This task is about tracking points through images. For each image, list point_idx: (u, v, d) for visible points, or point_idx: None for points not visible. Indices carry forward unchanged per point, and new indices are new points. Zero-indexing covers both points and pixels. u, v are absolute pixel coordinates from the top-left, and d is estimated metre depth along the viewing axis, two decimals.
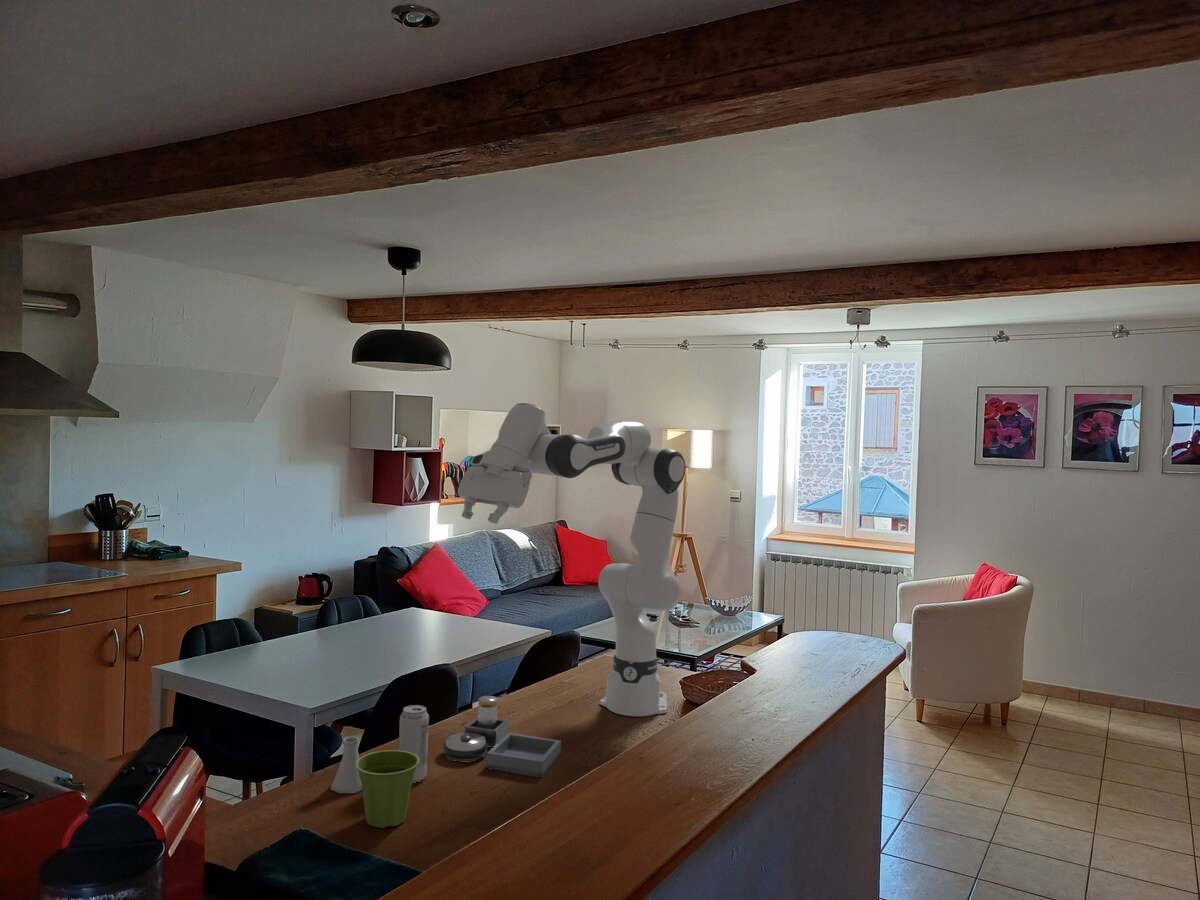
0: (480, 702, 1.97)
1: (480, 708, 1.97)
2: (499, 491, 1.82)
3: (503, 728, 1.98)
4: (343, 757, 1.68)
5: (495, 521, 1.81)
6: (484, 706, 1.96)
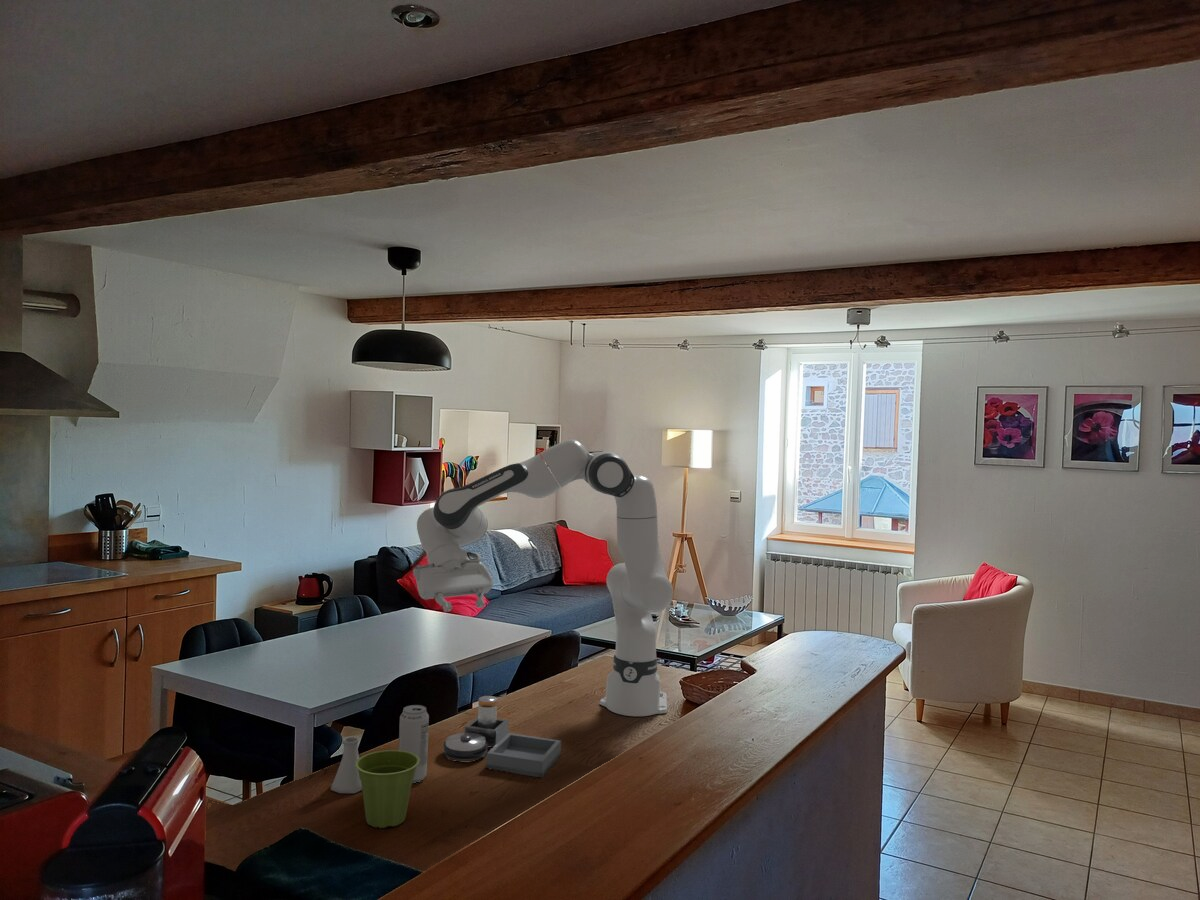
0: (480, 702, 1.97)
1: (480, 708, 1.97)
2: None
3: (503, 728, 1.98)
4: (343, 757, 1.68)
5: (445, 608, 2.04)
6: (484, 706, 1.96)
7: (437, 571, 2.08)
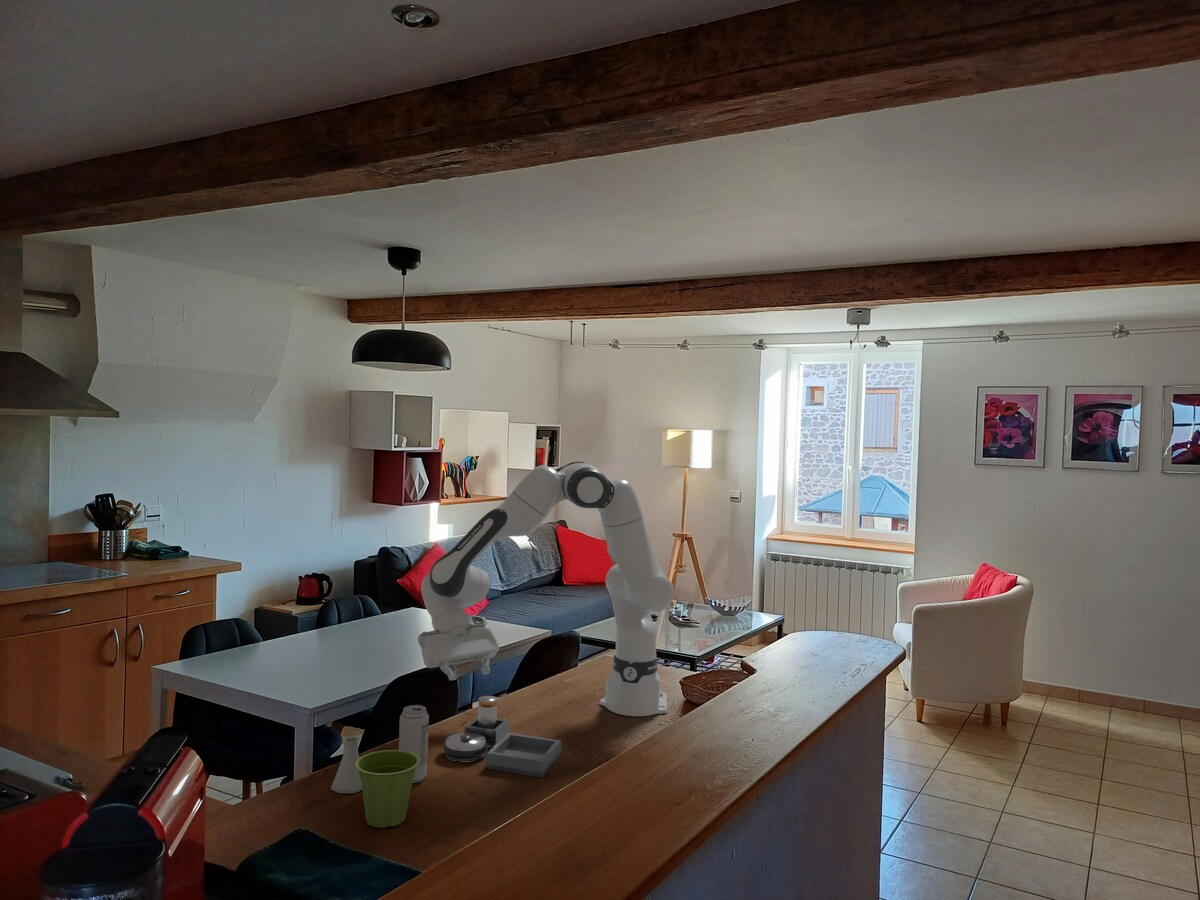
0: (480, 702, 1.97)
1: (480, 708, 1.97)
2: None
3: (503, 728, 1.98)
4: (343, 757, 1.68)
5: (451, 677, 2.01)
6: (484, 706, 1.96)
7: (442, 638, 2.06)
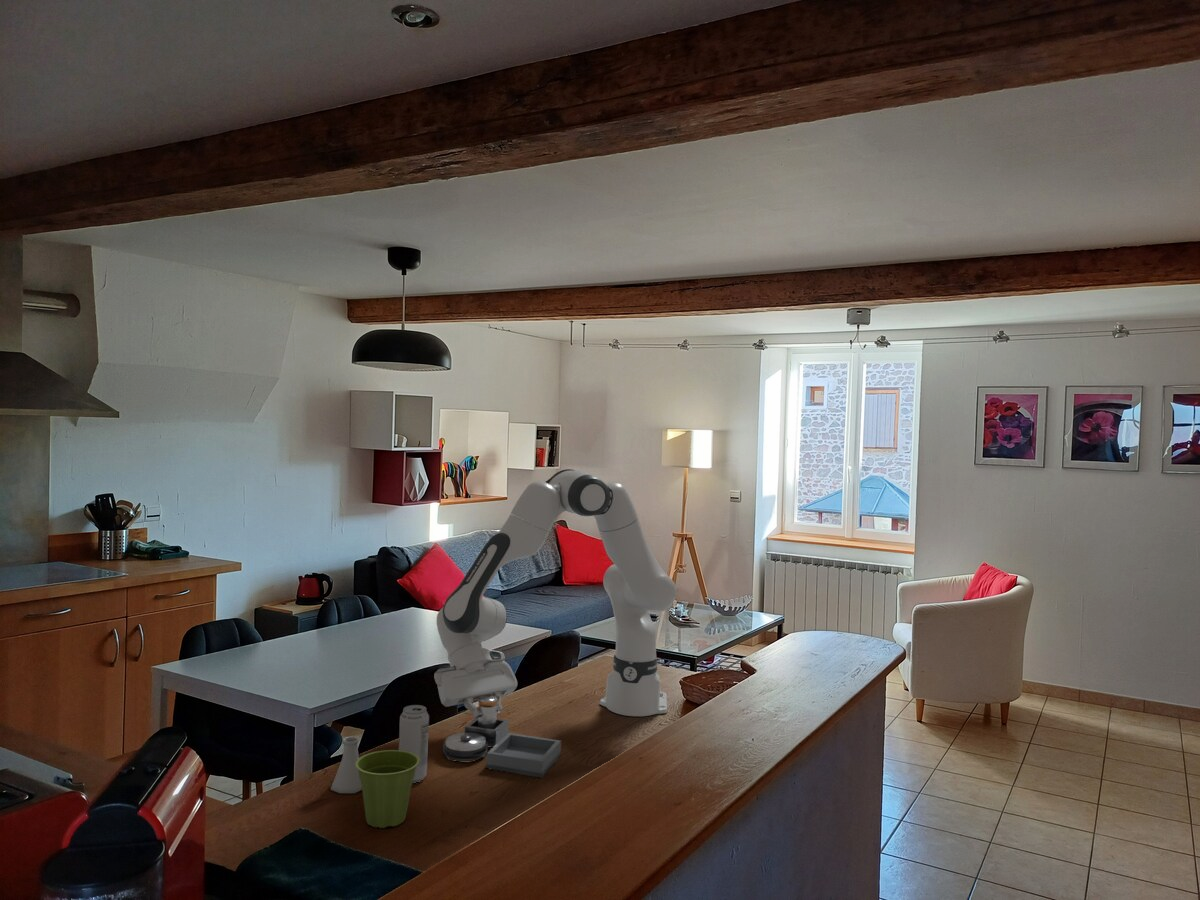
0: (480, 702, 1.97)
1: (480, 708, 1.97)
2: None
3: (503, 728, 1.98)
4: (343, 757, 1.68)
5: (475, 715, 1.96)
6: (484, 706, 1.96)
7: (459, 675, 1.99)
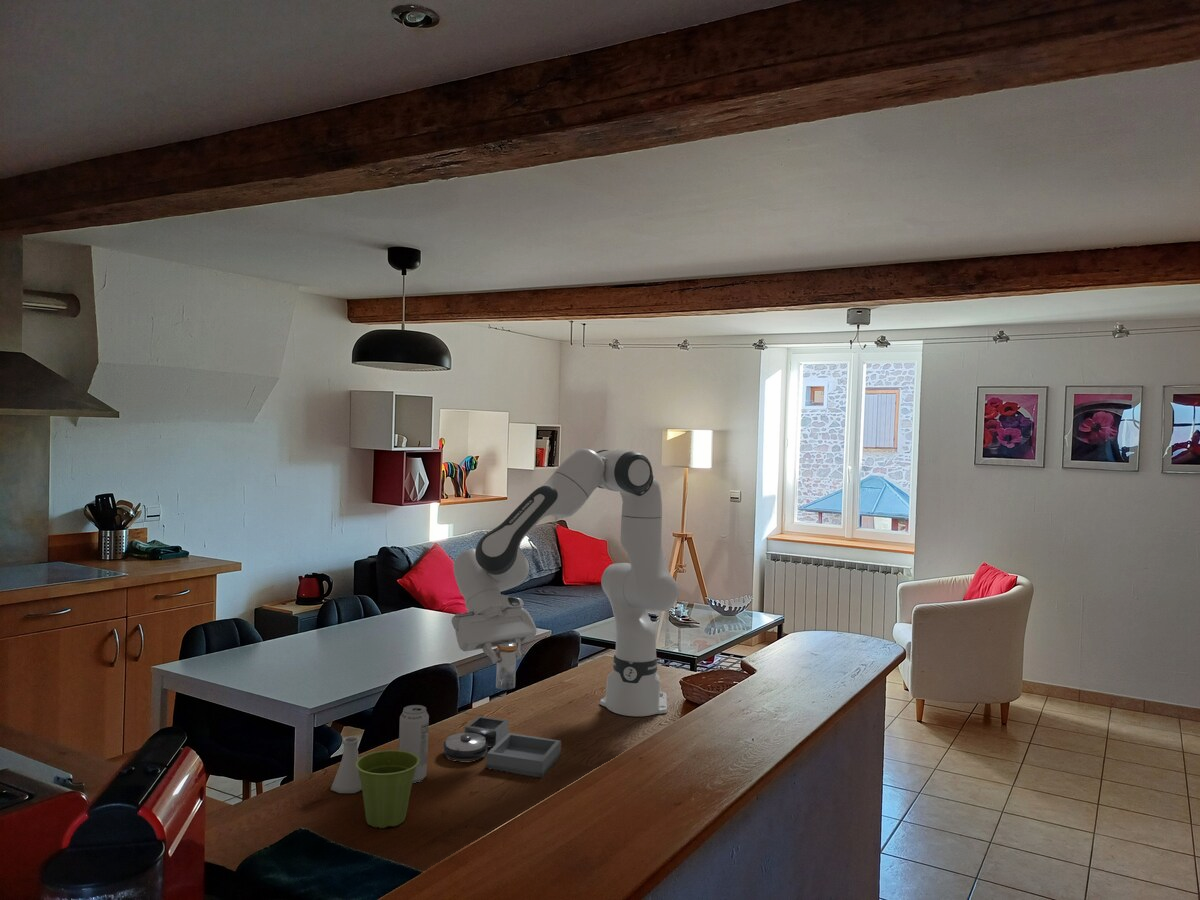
0: (499, 647, 1.91)
1: (499, 653, 1.91)
2: None
3: (503, 728, 1.98)
4: (343, 757, 1.68)
5: (494, 660, 1.90)
6: (503, 651, 1.90)
7: (477, 620, 1.93)
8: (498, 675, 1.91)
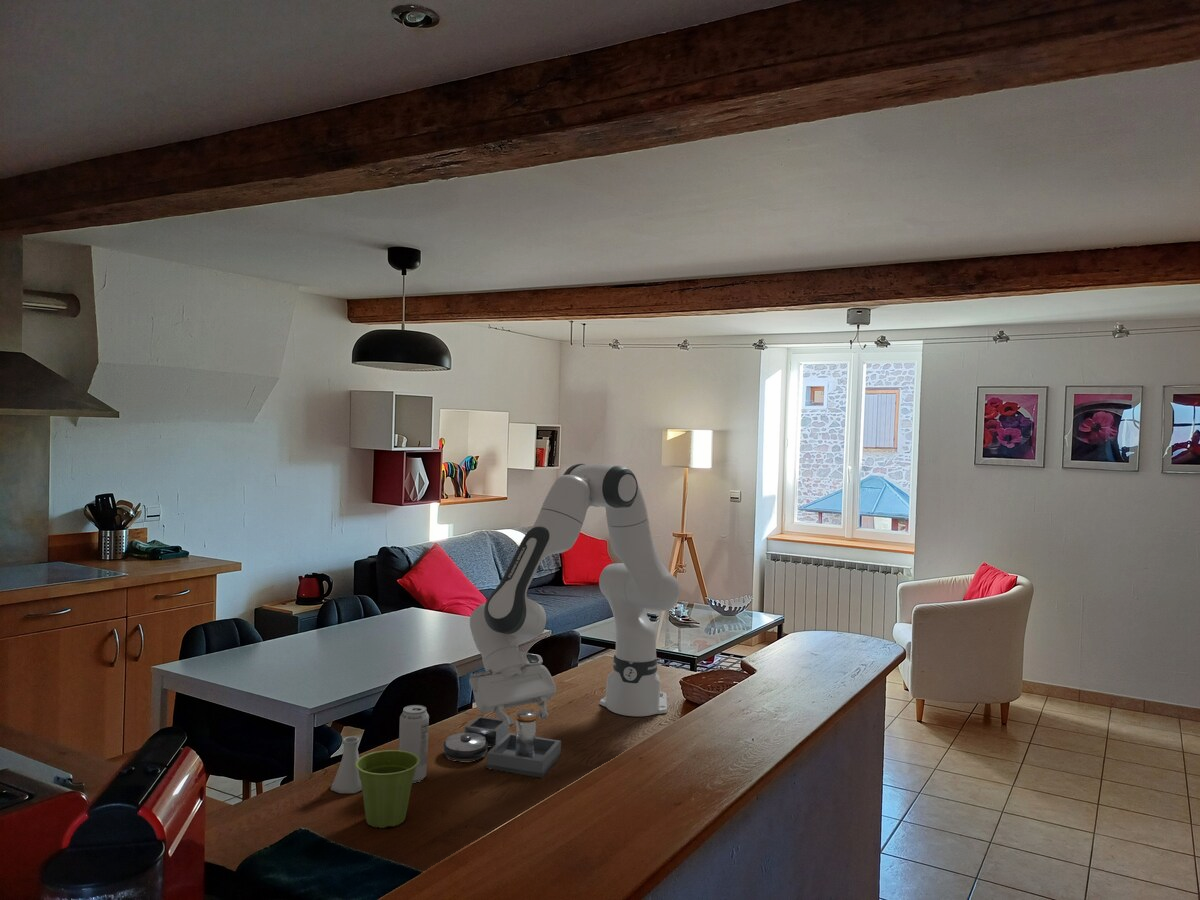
0: (518, 717, 1.85)
1: (518, 723, 1.85)
2: None
3: (503, 728, 1.98)
4: (343, 757, 1.68)
5: (507, 724, 1.82)
6: (523, 721, 1.84)
7: (496, 680, 1.87)
8: (517, 745, 1.85)
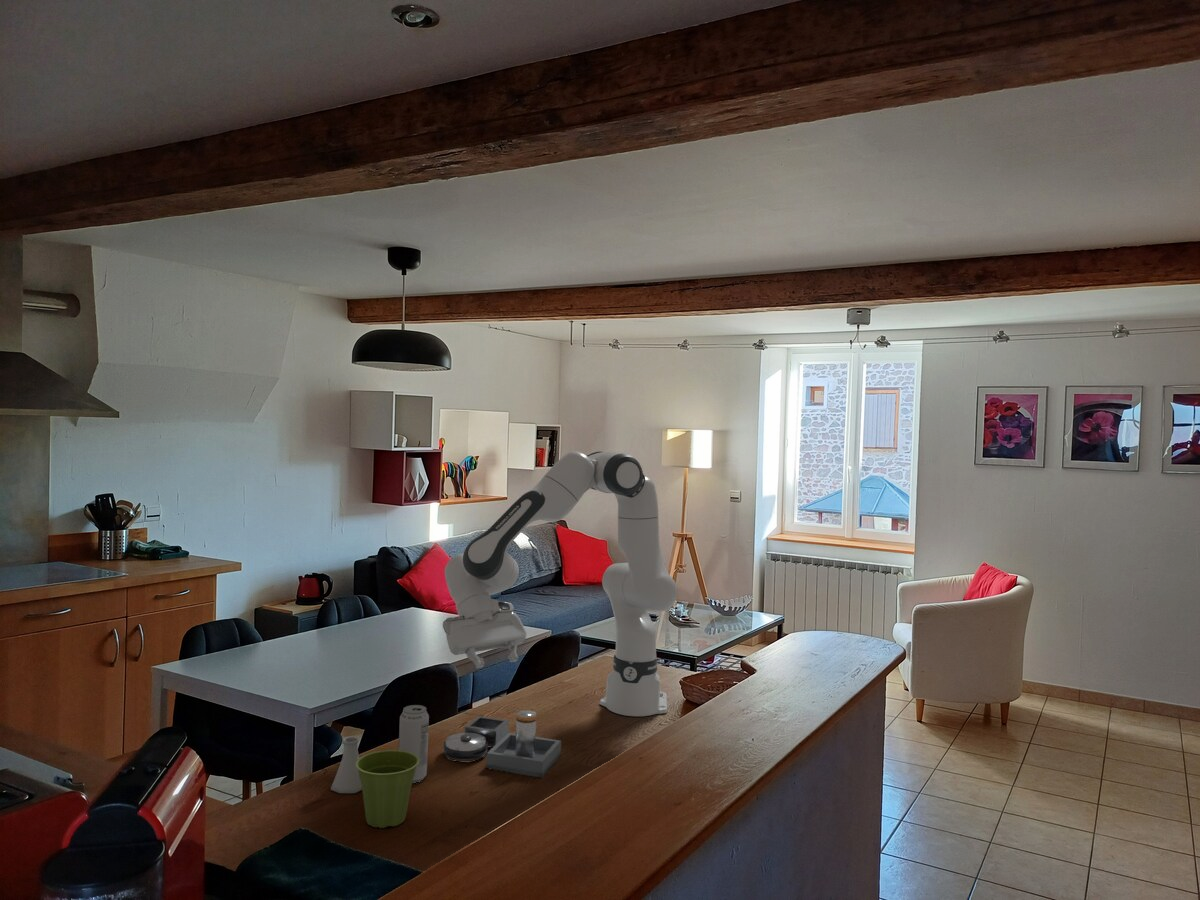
0: (518, 717, 1.85)
1: (518, 724, 1.85)
2: None
3: (503, 728, 1.98)
4: (343, 757, 1.68)
5: (477, 664, 1.92)
6: (523, 722, 1.84)
7: (468, 624, 1.97)
8: (517, 746, 1.85)
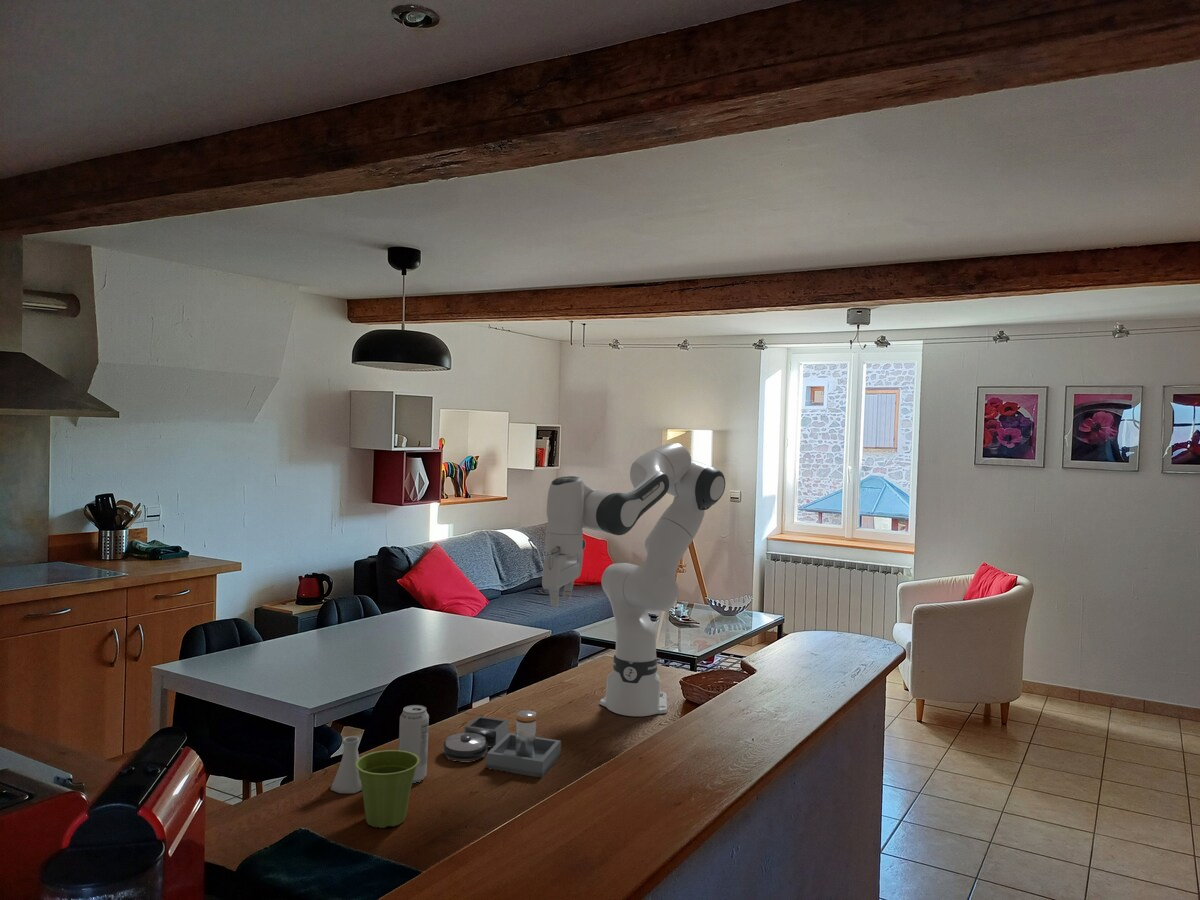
0: (518, 717, 1.85)
1: (518, 724, 1.85)
2: None
3: (503, 728, 1.98)
4: (343, 757, 1.68)
5: (554, 604, 1.92)
6: (523, 722, 1.84)
7: (563, 562, 1.92)
8: (517, 746, 1.85)
